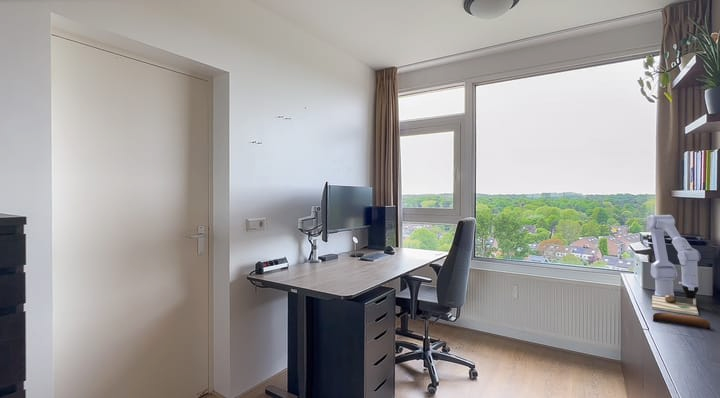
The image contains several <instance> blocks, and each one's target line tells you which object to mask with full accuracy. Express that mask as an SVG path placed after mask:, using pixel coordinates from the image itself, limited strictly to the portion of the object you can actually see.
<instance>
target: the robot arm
mask: <svg viewBox="0 0 720 398" xmlns="http://www.w3.org/2000/svg"><path fill="white" fill-rule="evenodd" d="M646 223H647V227H648V231H650V235H651V240H652V246H653V252H654V256H655V258H654V259H655V261H654V262H652V263H651V264H650V276H652V278H653V279H655V280H654V281H655V282H654V284H655V285H654V286H655V291H654V296H658V297H665V295H673V296H675V293H674V281H675V280H676V278H677V277H678V271H677V269H676V267H675V264H674V263H672V262H671V261H670V260H669V256H668V251H667V246H666V241H665V236H664V232H665V233H667V235H668V236H669V237H670V238H671V240H672V241H671V244H672V245H673V248H675V251H677V259H678V260H679V265H680V267H681V268H680V269H681V281H678V285H679V284H680V285H682V286H681V287H682V290H683V291H684V293H685V297H686V298H695V297H696V294H697V293H698V292H699V286H700V285H699V284H700V283H699V274H698V273H699V271H698V269H699V268H698V262H699V261H700V260H701V258H702V257H701V253H700V251H699V250H697V249H695V248H693V247H692V246H691V244H690V243H689V242H688V240H687V239H686V238H685V237H682V236H681V234H680V233H679V231H678V229H677V227H676V226H675V224H676V220H675V218H674V216H673V215H672V214H657V215H656V214H654V215H653V214H650V215H649V216H648V217H647V219H646ZM695 299H696V298H695Z"/></svg>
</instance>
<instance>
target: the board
mask: <svg viewBox="0 0 720 398" xmlns="http://www.w3.org/2000/svg"><path fill="white" fill-rule="evenodd" d="M651 297H652V299H651V309H652V310H657V311H662V312H663V311H664V312H670V313H671V312H672V313H678V314H683V315H684V314H685V315H686V314H687V315H690V316H699V311H698V309H697V304H696V305H692V304H685V303H677V302H676V303H671V302H666V301H665V297H662V296H655V295H651Z"/></svg>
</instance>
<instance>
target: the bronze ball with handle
mask: <svg viewBox="0 0 720 398" xmlns="http://www.w3.org/2000/svg"><path fill="white" fill-rule="evenodd" d="M665 301H666V302H671V303H676V302H677V303H685V304H692V305H696V306H697V298H686V296H685V297H684V296H678V295H677V296H676V295H674V296H673V295H665Z"/></svg>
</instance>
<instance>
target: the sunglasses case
mask: <svg viewBox="0 0 720 398" xmlns="http://www.w3.org/2000/svg"><path fill="white" fill-rule="evenodd" d="M652 322H665V323H674V324H679V325H688V326H692V327H693V326H694V327H698V328H699V327H701V328H706V329H709V330H711V323H710V321H708V319H705V318H702V317H699V316H696V315H684V314H683V315H681V314H675V313H674V314H673V313H671V312H670V313H669V312H655V313H653V315H652Z"/></svg>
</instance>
